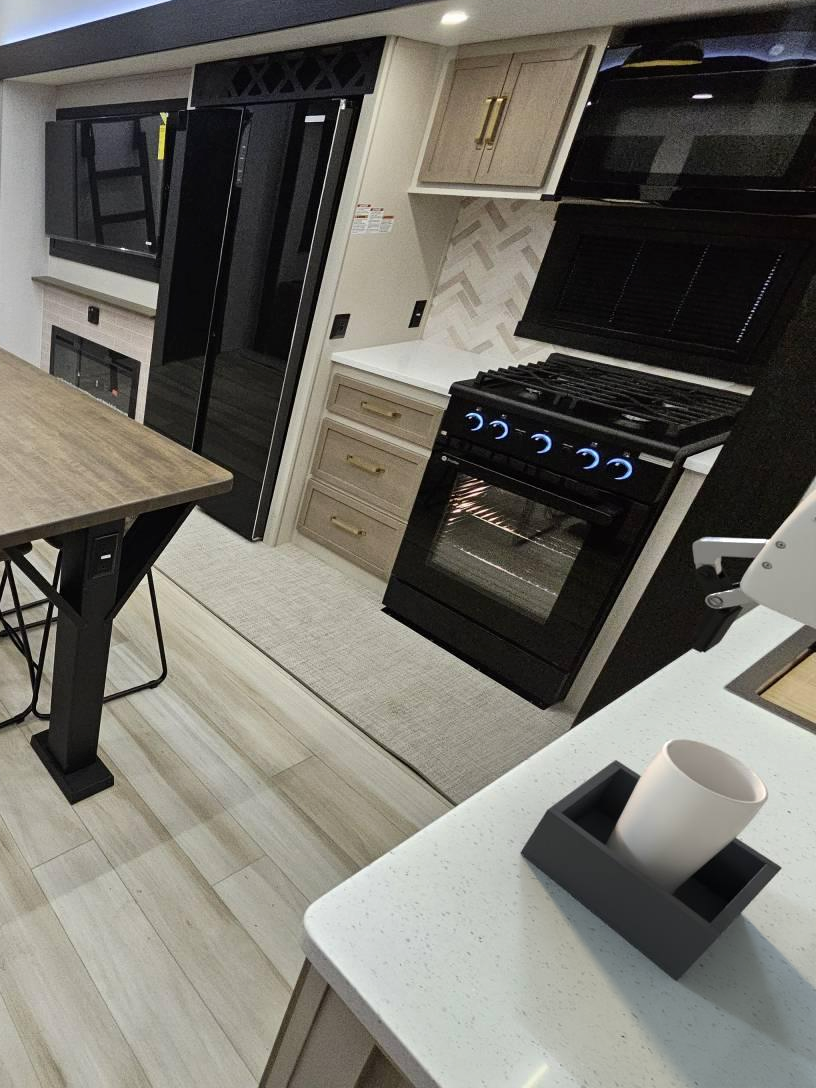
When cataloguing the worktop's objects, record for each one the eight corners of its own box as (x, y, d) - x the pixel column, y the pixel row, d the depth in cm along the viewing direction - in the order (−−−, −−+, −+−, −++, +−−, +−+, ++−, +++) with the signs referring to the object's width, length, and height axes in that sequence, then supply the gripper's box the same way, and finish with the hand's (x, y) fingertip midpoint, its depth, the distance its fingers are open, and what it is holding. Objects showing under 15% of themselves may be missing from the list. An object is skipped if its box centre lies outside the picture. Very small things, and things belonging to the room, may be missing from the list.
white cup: (593, 830, 68) (667, 724, 61) (681, 879, 64) (771, 771, 57) (580, 876, 64) (657, 767, 57) (673, 931, 60) (770, 821, 53)
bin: (587, 802, 72) (615, 759, 69) (740, 911, 62) (782, 867, 59) (519, 853, 66) (547, 809, 63) (676, 981, 57) (718, 937, 54)
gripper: (1180, 541, 39) (972, 748, 47) (778, 430, 52) (670, 606, 61) (1157, 576, 36) (938, 791, 44) (735, 449, 49) (628, 632, 57)
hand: (783, 684), depth 52 cm, fingers open, 9 cm apart
